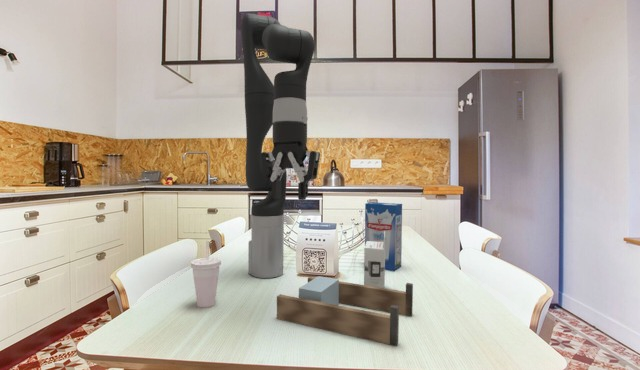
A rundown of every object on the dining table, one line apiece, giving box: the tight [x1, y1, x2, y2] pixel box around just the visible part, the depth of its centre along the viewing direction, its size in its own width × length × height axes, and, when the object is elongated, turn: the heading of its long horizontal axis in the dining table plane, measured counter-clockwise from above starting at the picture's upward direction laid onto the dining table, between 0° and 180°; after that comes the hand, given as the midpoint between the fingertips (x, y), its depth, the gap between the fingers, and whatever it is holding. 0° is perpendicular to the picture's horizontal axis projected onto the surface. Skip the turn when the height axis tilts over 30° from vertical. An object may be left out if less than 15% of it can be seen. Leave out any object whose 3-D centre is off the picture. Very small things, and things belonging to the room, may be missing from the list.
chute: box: [276, 276, 414, 347], centre depth 68 cm, size 24×14×6 cm, turn 64°
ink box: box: [363, 231, 386, 288], centre depth 82 cm, size 9×5×15 cm, turn 168°
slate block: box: [298, 275, 340, 306], centre depth 70 cm, size 5×9×6 cm, turn 154°
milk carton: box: [364, 201, 403, 272], centre depth 105 cm, size 10×6×20 cm, turn 58°
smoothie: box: [190, 240, 222, 308], centre depth 73 cm, size 6×6×14 cm
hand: (289, 198), depth 73 cm, fingers open, 5 cm apart
